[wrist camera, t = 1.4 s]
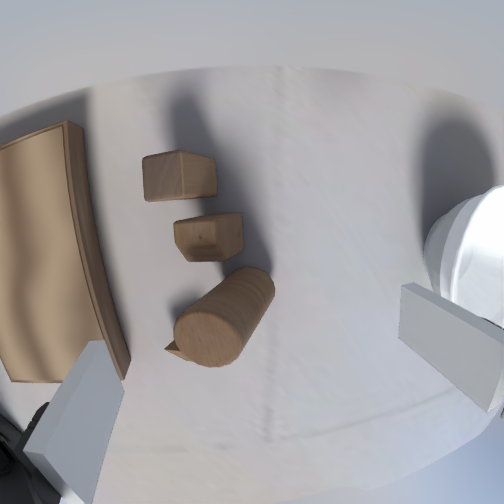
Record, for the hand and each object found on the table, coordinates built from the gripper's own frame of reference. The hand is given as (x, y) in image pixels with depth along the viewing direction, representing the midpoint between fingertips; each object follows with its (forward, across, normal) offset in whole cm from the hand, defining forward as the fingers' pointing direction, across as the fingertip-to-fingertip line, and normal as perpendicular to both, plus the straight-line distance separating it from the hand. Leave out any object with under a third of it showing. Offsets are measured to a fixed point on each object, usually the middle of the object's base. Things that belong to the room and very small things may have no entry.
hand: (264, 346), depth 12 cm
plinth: (+14, -18, +3) cm, 24 cm away
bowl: (+15, +24, -3) cm, 29 cm away
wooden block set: (+15, -2, 0) cm, 15 cm away
